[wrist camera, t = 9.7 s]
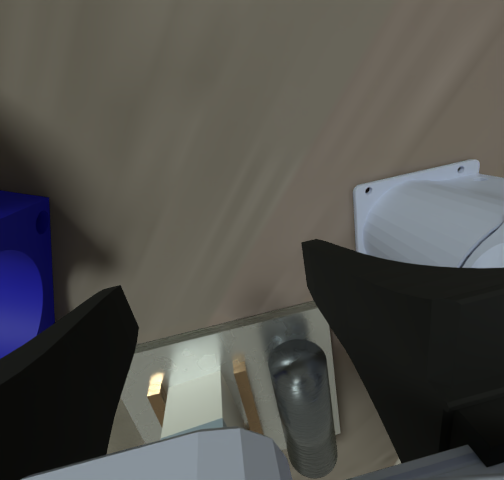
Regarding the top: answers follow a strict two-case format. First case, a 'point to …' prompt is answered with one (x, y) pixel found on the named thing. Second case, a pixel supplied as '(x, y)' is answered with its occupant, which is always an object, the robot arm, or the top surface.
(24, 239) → the cable clip
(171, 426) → the block
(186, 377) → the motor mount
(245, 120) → the top surface
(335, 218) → the top surface
